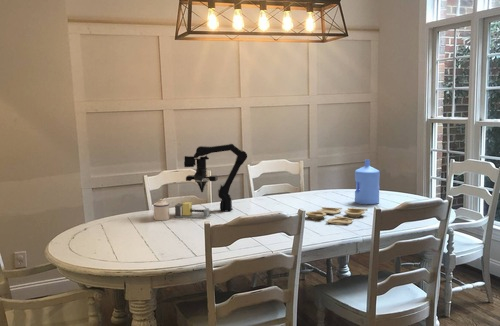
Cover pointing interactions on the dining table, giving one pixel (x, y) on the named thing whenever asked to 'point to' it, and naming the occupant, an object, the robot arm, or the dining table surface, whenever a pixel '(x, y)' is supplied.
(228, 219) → the dining table surface
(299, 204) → the dining table surface
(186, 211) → the sleeve
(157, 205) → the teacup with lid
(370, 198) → the water jug
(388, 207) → the dining table surface
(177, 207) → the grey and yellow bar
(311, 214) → the tableware set
